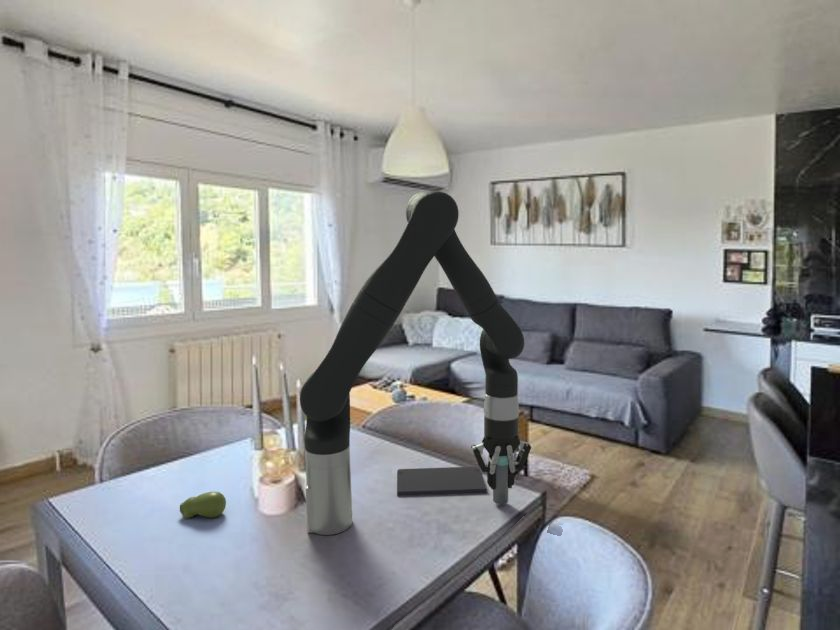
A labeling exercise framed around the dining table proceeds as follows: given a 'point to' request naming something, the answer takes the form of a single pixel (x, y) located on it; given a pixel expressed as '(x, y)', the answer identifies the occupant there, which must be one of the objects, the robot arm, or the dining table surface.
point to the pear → (204, 505)
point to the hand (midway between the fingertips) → (500, 486)
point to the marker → (501, 481)
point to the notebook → (440, 481)
